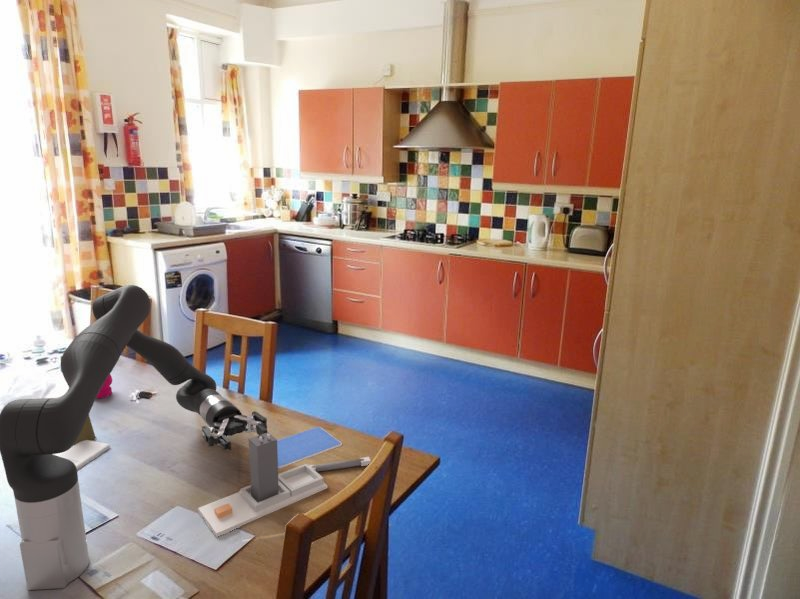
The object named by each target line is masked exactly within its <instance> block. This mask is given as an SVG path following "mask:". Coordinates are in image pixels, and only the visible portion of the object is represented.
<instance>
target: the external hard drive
mask: <svg viewBox="0 0 800 599" xmlns="http://www.w3.org/2000/svg"><path fill="white" fill-rule="evenodd" d="M109 449H111V445H110V444H109V443H105V442H101V441H100V442H99V441H95V440H93V441H90V440H84V441H81V442H79V443H77V444H76V445H74V446H72V447H71V448H70V449H69V450H67V451H65V452H62V453H59V454H58V455H57V456H59V457H62V458H65V459H68V460H70V461H72V462H73V463H74V464H75V466H76V468H77V471H79V469H81V468H82V467H83V466H85V465H86V464H88V463H90V462H91V461H92V460H95V459H96V458H97V457H99V456H100V455H102V454H103V453H105V452H106V451H108V450H109Z"/></svg>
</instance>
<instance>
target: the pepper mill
mask: <svg viewBox="0 0 800 599" xmlns="http://www.w3.org/2000/svg"><path fill="white" fill-rule="evenodd" d="M112 383H113V377H112V375H111V373H110V375H109V376H108V378H107V379H106V381H105V382H104V384H103V386H102V388H101V390H100V391H99V393H98V395H97V397H96V398H99V399H103V398H102V397H104V398H107V397H109V396H111V395H112V393H113V390H112V389H113V388H112V386H111V385H112ZM110 394H111V395H110ZM108 395H109V396H108ZM106 396H107V397H106Z"/></svg>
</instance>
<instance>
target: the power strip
mask: <svg viewBox="0 0 800 599" xmlns="http://www.w3.org/2000/svg"><path fill="white" fill-rule="evenodd" d="M309 465H310V464H308V463H306V462H305V463H304V464H301V465H298V466H296V467H293V468H290V469H287V470H286V471H282V472H281V473H280V472H279V473H278V488H279V494H278V495H275V496H273V497H270V498H268V499H265V500H263V501H261V502H257V501H256V500H255V499H254V498H253V497H252V496H251V484H249V485H247V486H243V487H242V488H239V491H238V492H235V493H232V494H230V495H228V496H224V497H222V498H219V499H217V500H215V501H212V502H209V503H207V504H204V505H202V506H200V507H197V512H198V514H199V515H200V516H201V518H202V517H203V518H204V519H203V518H202V519H203V521H204V520H205V521H206V522H207V523H206V522H205V521H204V522H205V523H206V524H208V525H209V526H208V525H207V526H208V528H209V527H210V528H211V529H210V528H209V529H210V530H211V532H212V531H213V532H212V533H213V535H214V536H215V535H216V536H215V538H219V537H221V536H220V535H222V536H223V534H224V535H225V533H226V534H228V533H230V532H229V531H231V532H232V530H233V531H235V530H237V529H236V528H238V529H240V528H241V526H243V525H244V526H245V524H248V523H251V522H252V521H256V520H257V519H259V518H262V517H264V516H267V515H269V514H271V513H273V512H275V511H278V510H281V509H283V508H286V507H288V506H290V505H292V504H294V503H297V502H298V501H301V500H303V499H306V498H308V497H310V496H312V495H315V494H317V493H319V492H321V491H324V490H326V489H328V485H327V484H326V482H324V477H323V476H322V475H321V474H320V473H318V472H316V471H315V470H314V469H313V468H311V467H310V466H309ZM305 469H306V472H305ZM234 529H235V530H234ZM227 532H228V533H227ZM218 536H219V537H218Z"/></svg>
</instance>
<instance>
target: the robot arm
mask: <svg viewBox="0 0 800 599" xmlns="http://www.w3.org/2000/svg"><path fill="white" fill-rule="evenodd" d="M91 309H92V310H91V311H92V313H93V316H94V318H95V321H94V322H92V323H91V324H89V325H88V326H87V327H85V328H84V329H82V331H80V333H78V334H77V335H76V336H75V337H74V338H73V340H72V341H71V342H70V344H69V345H68V347H67V348H66V349H65V350H64V352H63V353H62V356H61V358H60V370H61V373H62V376H63V379H64V380H65V382H66V384H67V386H68V389H67V391H66V392H65V393H64V394H63V395H61V396H58V397H45V398H44V397H43V398H42V397H41V398H21V399H15V400H11V401H9V402H8V403H7V404H6V405H5V406H4V407H3V408H2V409H1V411H0V456H1V460H2V463H3V464H2V465H3V467H4V468H3V469H4V471H5V477H6V480H7V484H8V486H9V487H10V488H11V490H12V492H13V497H14V501H15V502H14V503H15V508H16V514H17V520H18V526H19V533H20V538H21V542H20V543H19V549H20V554H21V560H22V566H23V572H24V576H25V584H26V590H27V591H31V590H32V591H34V590H49V589H50V590H53V589H66V588H67V586H68V585H69V583H71V582H73V581H74V580H75V579H77V578H78V577H79V576H81V575H82V574H83V573H84V572H85V570H86V569H87V568H88V566H89V563H90V556H89V548H88V540H87V534H86V527H85V519H84V512H83V506H82V498H81V490H80V483H79V475H78V470H77V468H76V466H75V464H74V463H73V462H72V461H70V460H68V459H65V458H62V457H59V456H58V455H56V454H61V453H63V452H65V451H67V450H69V449H70V448H71V447H73V445H74V443H75V442H76V441H77V439H78V437H79V435H80V433H81V431H82V429H83V427H84V424H85V422H86V420H87V417H88V415H89V416H90V412H91V410H92V408H93V405H94V402H95V401H96V397H97V395H98V393H99V391H100V390H101V388H102V386H103V384H104V382H105V381H106V379H107V378H108V376H109V375H110V374H111V373H112V371H114V368H115V366H116V365H117V363H118V361H119V359H121V358H120V357H121V356H122V354H123V352H124V350H125V349H126V347H128V348H129V349H131V350H132V351H134V352H135V353H136V354H138V355H139V356H140V357H142V358H143V359H144V360H146V361H147V362H148V363H149V364H150V365H151V366H152V367H153V368H154V369H155V370H156V371H157V372H158V374H160V376H162V377H163V378H164V379H165V380H166V381H167V382H168V383H169V384H170V385H172V386H178V385H182V384H183V383H185V384H184V385H182V386H181V387H180V388H179V389H178V390H177V392H176V395H175V399H176V402H177V404H179V406H180V407H182V408H183V409H184V410H187V411H189V412H193V413H198V415H199V416H200V417H201V419H202V421H204V423H205V424H207V425H203V426H201V434H202V436H201V438H202V439H203V440H204V442H206V444H207V445H208V447H210V448H211V447H214V446H215V445H218V446H220V448H222V449H223V450H224V451H225V450H226V451H227V452H229V451H232V442H231V440H230V439H229V436H231V437H232V436H235V435H237V434H241V433H244V434H245V433H246V434H251V433H255V434H257V436H259V435H262V434H265V433H268V424H267V422H268V419H267V418H266V417H265V416H264V415H262V414H260V413H259V412H257V411H252V412H251V415H248V416H247V415H244V414H242V411H241V410H240V409H239V408H238V407H236V405H234V404H233V403H232V402H231V401H230V400H228V398H227V397H225V396H222V394H220V393H219V391H217V383H216V381H215V379H213V377H212V376H210V375H208V374H207V373H205V372H203V371H201V370H199V369H198V368H196V367H195V366H194V365H193V364H192V363H190V361H188V359H187V358H186V357H185V356H184V355H183V354H182V353H181V352H180V351H179V349H177V348H176V347H175V346H173V345H172V344H170V343H168V342H166V341H164V340H160V339H158V338H156V337H153V336H151V335H148V334H146V333H144V332H143V331H140V330H139V328H140V327H141V325H142V324H143V323H144V322H145V321H146V320H147V318H148V317H149V316H150V313H151V300H150V296H149V295H148V293H147V292H146V290H145V289H144V288H142V287H140V286H138V285H134V284H128V285H123V286H121V287H118V288H116V289H114V290H111V291H109V292H105V294H102V295H100V296H98V297H97V298H95V299H94V300H93V302H92V307H91ZM254 426H255V427H254ZM215 434H216V435H215Z"/></svg>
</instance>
